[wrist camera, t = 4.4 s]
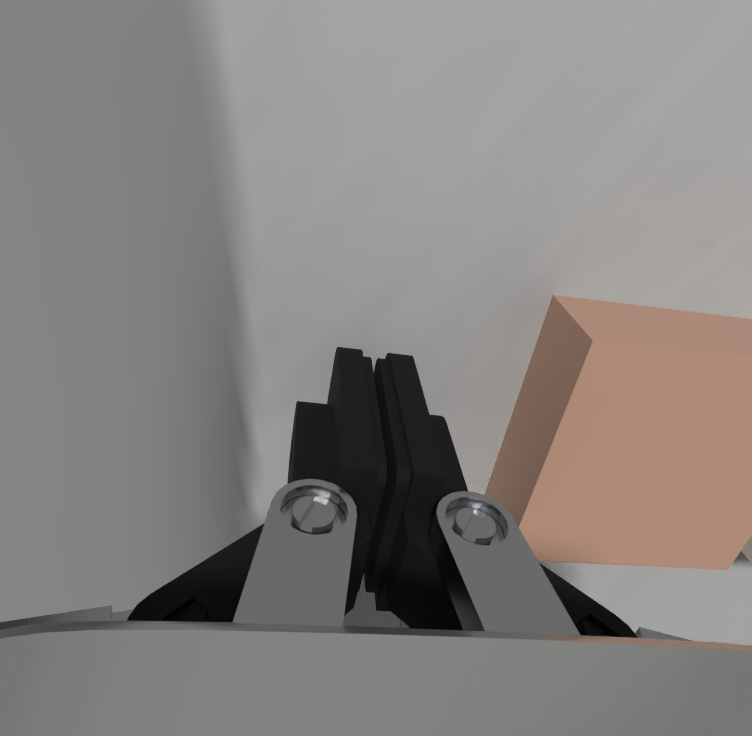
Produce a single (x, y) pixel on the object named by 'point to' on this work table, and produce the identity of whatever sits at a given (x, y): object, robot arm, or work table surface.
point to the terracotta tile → (632, 438)
